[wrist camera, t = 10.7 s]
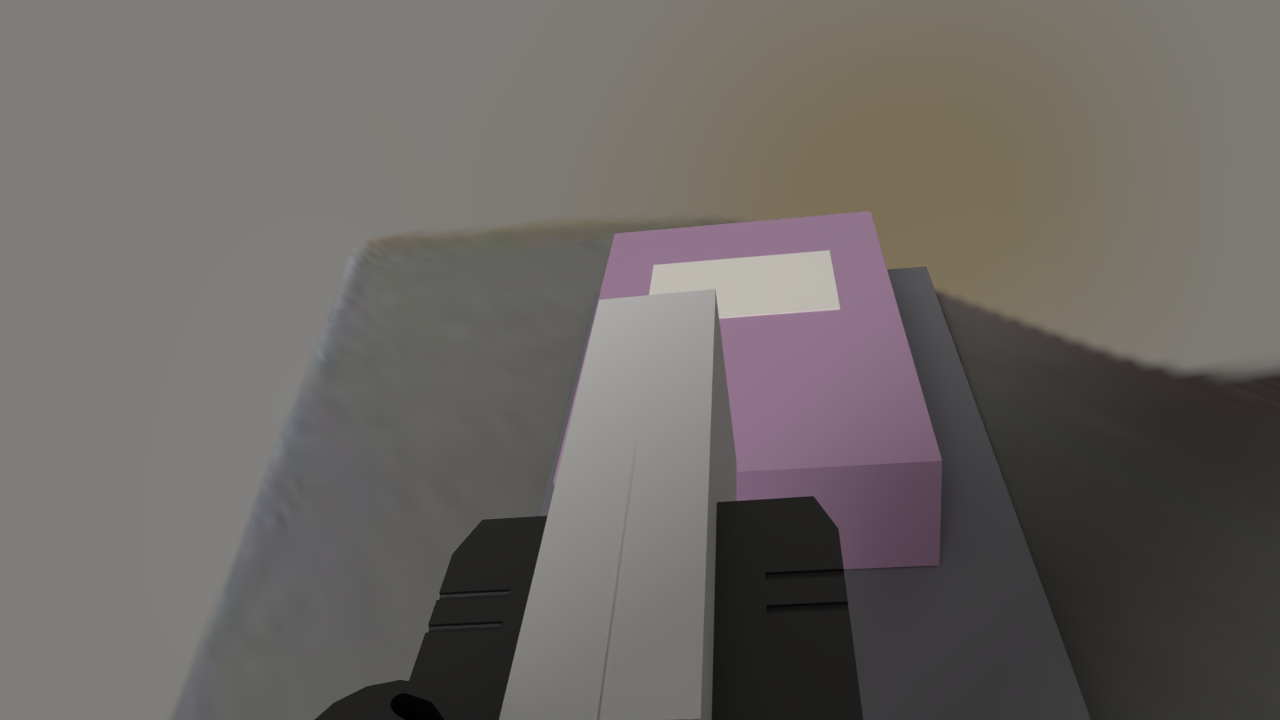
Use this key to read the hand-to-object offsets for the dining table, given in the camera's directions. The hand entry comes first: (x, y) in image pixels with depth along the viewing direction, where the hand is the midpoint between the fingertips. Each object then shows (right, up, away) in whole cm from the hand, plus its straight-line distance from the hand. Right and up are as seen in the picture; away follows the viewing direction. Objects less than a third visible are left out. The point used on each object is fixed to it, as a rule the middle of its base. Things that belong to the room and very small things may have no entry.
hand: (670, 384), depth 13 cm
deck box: (+2, -4, +14) cm, 14 cm away
